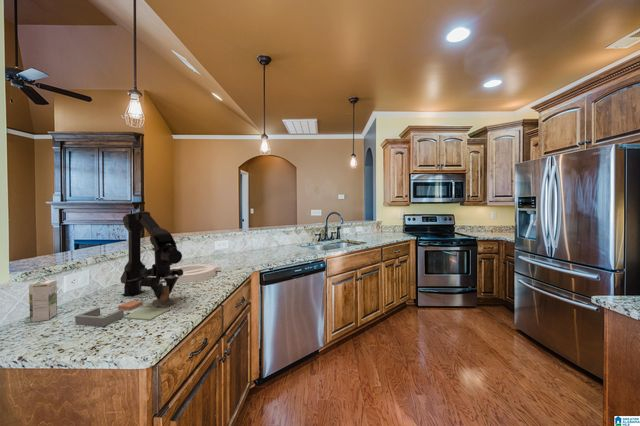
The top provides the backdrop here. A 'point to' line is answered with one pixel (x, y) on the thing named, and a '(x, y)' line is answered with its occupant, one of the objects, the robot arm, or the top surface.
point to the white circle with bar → (196, 272)
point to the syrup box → (43, 300)
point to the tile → (130, 305)
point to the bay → (98, 318)
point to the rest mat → (146, 313)
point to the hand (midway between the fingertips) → (163, 296)
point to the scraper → (164, 298)
